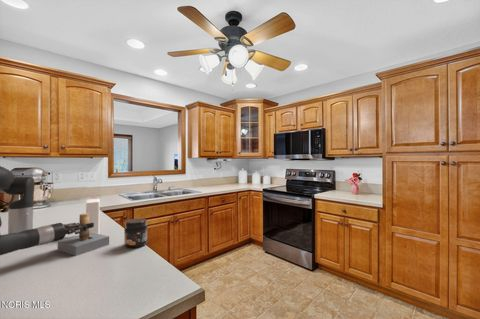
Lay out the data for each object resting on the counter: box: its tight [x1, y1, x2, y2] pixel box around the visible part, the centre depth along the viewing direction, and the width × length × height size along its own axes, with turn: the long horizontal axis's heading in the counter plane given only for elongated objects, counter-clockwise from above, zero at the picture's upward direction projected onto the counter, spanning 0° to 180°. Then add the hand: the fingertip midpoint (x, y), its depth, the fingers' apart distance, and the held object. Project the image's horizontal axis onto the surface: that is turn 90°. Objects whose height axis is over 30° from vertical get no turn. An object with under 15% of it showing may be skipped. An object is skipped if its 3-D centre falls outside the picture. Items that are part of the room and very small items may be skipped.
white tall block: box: [85, 195, 101, 234], centre depth 126 cm, size 6×6×22 cm
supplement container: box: [123, 218, 148, 249], centre depth 111 cm, size 10×10×12 cm
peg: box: [78, 212, 90, 241], centre depth 108 cm, size 4×4×14 cm
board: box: [57, 232, 110, 256], centre depth 108 cm, size 15×15×4 cm
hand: (90, 224), depth 110 cm, fingers closed on peg, 4 cm apart
